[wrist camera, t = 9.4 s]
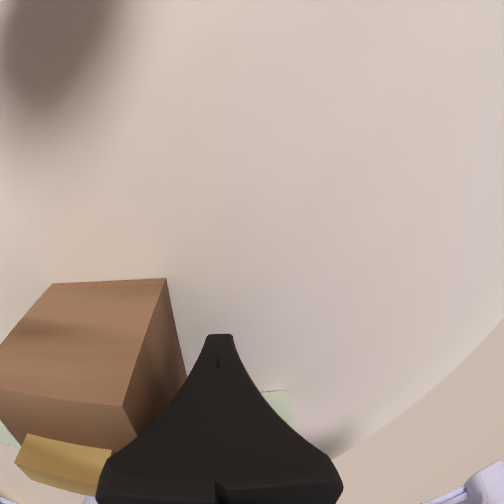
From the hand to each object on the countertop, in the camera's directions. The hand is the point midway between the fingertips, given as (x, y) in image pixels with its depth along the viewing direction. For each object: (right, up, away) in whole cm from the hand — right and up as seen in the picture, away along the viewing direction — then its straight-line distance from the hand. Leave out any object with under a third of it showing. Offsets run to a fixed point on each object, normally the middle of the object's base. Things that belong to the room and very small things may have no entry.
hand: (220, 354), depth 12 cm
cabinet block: (-4, 0, +1) cm, 4 cm away
